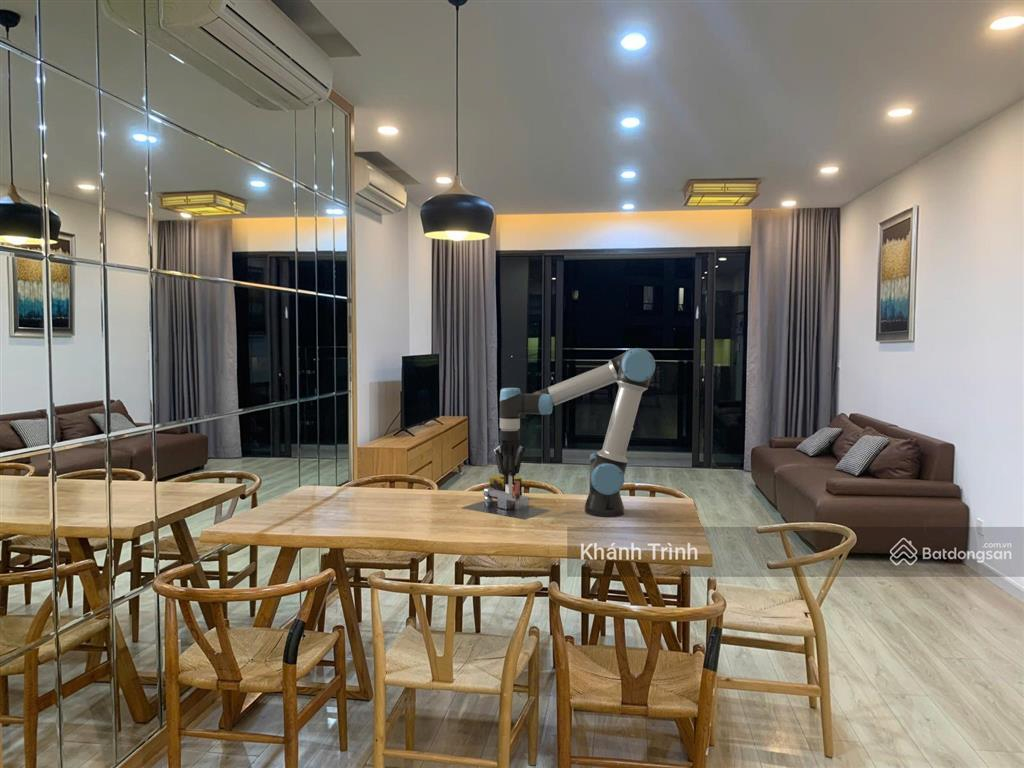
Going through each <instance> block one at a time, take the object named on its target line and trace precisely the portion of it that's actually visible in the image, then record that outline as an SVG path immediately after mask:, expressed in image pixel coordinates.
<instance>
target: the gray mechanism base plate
mask: <svg viewBox="0 0 1024 768" xmlns="http://www.w3.org/2000/svg"><path fill="white" fill-rule="evenodd" d="M529 505H530V496H527V495H523V494H522V495H520V501H515V509H504V508H500V507H498V500H494V498H493V496H485V495H484V500H483V501H479V502H477V503H476V502H475V503H472V504H470V505H466V506H462V507H461V509H463V510H469V511H474V512H475V511H476V512H480V513H484V514H491V515H496V516H501V517H507V518H512V519H517V520H518V519H520V520H524V521H525V520H528V519H531V518H533V517H537V516H540V515H541V514H544V513H547V512H550V511H551V509H546V508H539V507H533V506H529Z"/></svg>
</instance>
